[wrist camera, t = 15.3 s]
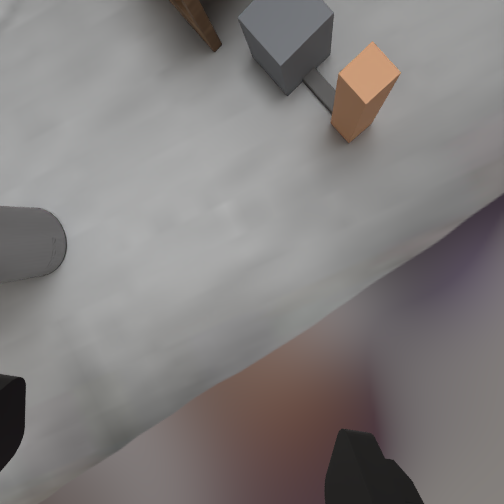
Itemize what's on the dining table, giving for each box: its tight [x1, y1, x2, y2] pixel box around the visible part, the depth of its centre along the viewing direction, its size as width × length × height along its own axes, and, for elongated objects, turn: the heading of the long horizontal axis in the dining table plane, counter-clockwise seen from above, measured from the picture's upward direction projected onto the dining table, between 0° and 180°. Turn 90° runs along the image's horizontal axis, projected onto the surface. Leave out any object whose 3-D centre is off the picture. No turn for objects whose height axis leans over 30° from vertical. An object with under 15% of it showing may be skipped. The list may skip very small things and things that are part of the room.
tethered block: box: [238, 0, 401, 143], centre depth 29 cm, size 14×6×12 cm, turn 41°
